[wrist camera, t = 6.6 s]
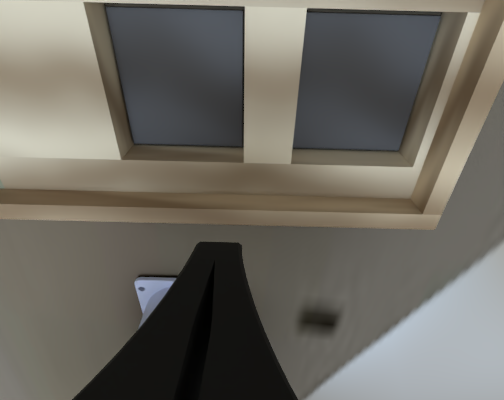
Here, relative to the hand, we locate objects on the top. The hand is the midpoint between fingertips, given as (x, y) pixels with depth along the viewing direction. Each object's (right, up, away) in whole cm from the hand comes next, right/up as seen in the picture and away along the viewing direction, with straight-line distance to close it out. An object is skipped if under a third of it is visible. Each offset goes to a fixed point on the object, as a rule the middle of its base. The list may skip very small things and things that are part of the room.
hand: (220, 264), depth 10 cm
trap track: (-5, +8, +6) cm, 11 cm away
